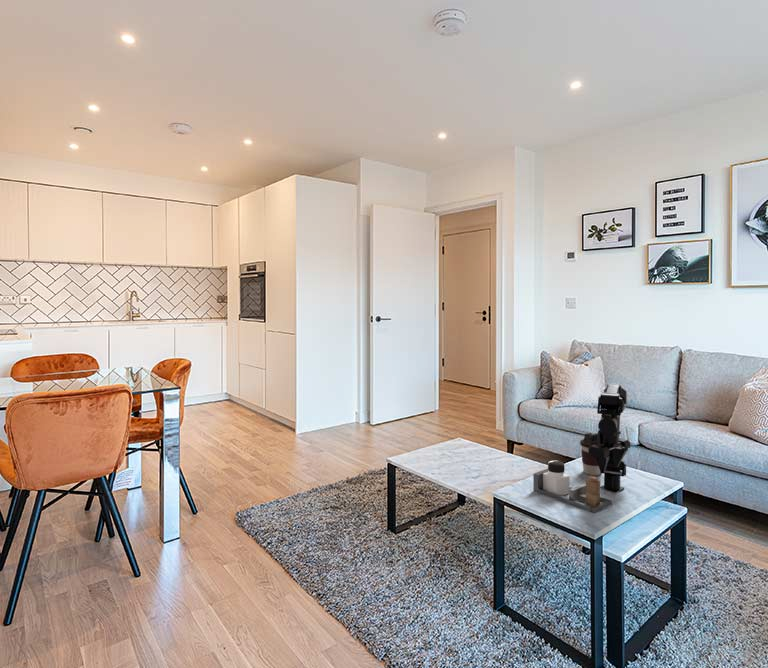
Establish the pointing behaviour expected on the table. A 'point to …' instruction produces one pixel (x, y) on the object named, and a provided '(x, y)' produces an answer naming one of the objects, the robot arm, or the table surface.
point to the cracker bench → (539, 489)
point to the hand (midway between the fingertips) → (609, 470)
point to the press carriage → (587, 492)
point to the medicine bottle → (556, 479)
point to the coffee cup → (589, 459)
